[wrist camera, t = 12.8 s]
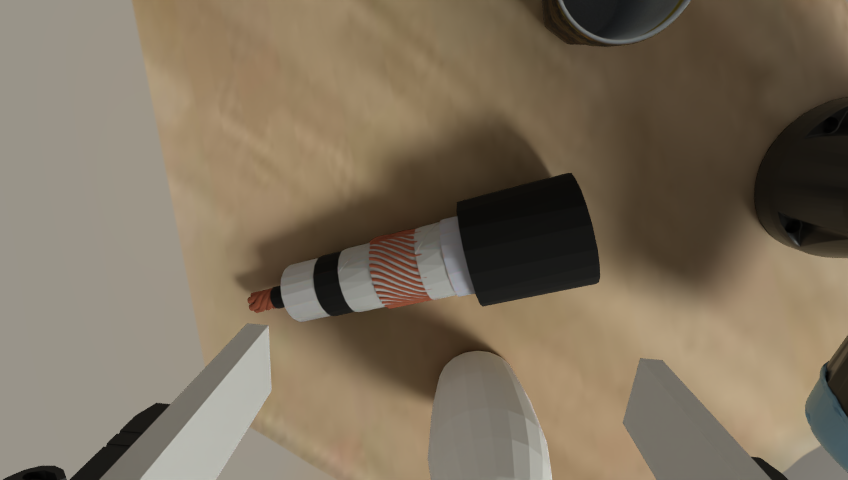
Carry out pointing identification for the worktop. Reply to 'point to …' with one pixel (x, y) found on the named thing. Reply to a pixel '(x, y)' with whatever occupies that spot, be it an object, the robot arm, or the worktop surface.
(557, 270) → the striped tapered cone
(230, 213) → the worktop surface
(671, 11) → the ceramic cup
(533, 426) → the bottle
